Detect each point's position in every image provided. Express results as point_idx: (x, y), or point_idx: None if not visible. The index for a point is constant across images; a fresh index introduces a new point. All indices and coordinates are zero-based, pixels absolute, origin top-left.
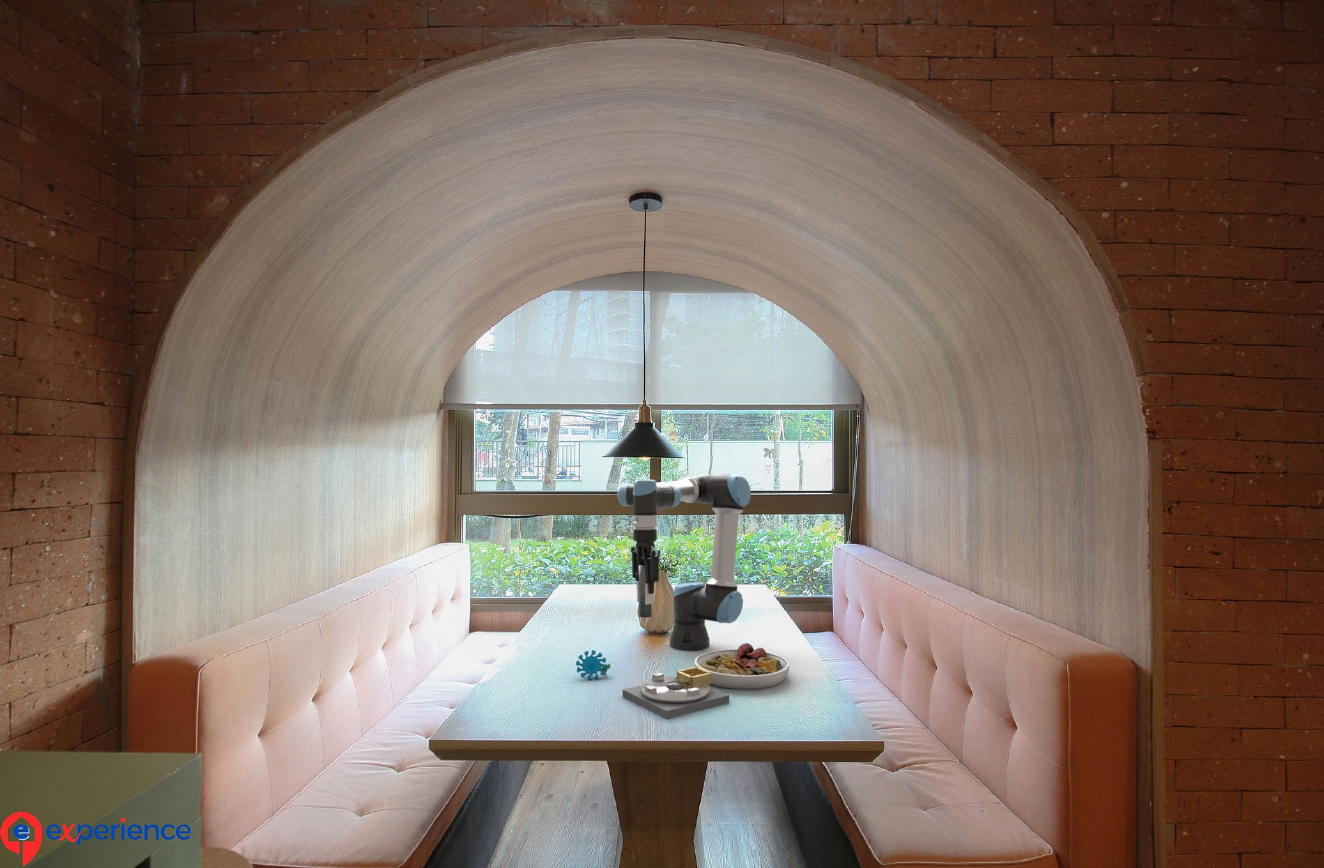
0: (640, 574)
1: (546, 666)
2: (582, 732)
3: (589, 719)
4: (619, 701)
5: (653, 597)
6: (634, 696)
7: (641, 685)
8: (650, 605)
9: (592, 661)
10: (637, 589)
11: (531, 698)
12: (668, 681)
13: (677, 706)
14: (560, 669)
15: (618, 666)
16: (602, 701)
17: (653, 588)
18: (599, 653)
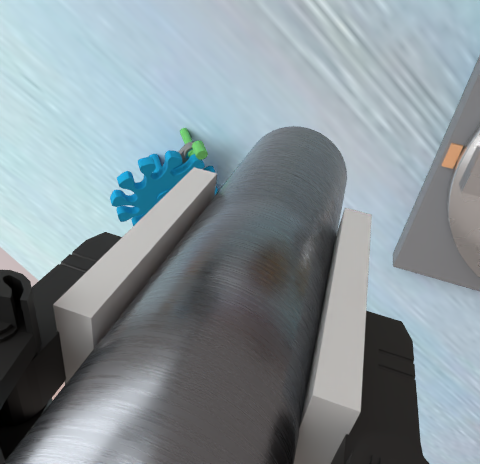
0: None
1: (30, 188)
2: (472, 447)
3: (433, 398)
4: (414, 287)
5: (368, 252)
6: (466, 285)
7: (463, 255)
8: (338, 215)
9: (161, 195)
10: None
11: None
12: None
13: None
14: (72, 183)
15: (141, 26)
16: (372, 307)
17: (412, 390)
18: (143, 170)
